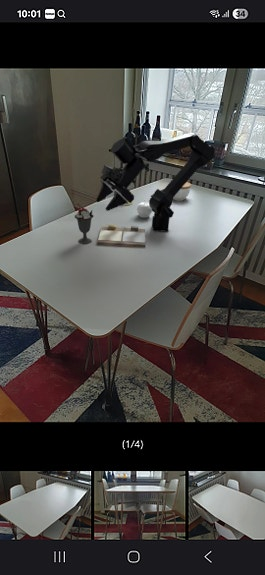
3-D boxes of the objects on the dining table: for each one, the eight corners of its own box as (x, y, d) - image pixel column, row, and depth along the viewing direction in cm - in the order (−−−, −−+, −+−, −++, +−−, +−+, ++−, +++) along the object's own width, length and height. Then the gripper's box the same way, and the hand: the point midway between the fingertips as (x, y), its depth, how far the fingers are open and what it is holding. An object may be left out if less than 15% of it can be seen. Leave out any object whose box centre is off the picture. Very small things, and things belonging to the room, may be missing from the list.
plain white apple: (133, 215, 143) (134, 198, 139) (145, 212, 147) (146, 195, 143) (143, 220, 139) (144, 203, 134) (155, 217, 143) (156, 200, 138)
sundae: (72, 242, 119) (70, 203, 110) (83, 235, 124) (81, 198, 115) (87, 246, 117) (85, 207, 108) (97, 240, 121) (96, 202, 113)
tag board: (145, 231, 130) (145, 226, 129) (145, 247, 119) (145, 241, 117) (101, 228, 130) (101, 223, 129) (97, 244, 119) (97, 239, 117)
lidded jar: (164, 196, 167) (166, 178, 162) (180, 194, 171) (183, 176, 166) (175, 203, 159) (178, 184, 154) (192, 200, 164) (195, 182, 158)
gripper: (105, 150, 115) (77, 183, 117) (127, 163, 101) (95, 200, 103) (124, 171, 122) (97, 202, 124) (147, 185, 109) (117, 220, 111)
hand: (101, 205), depth 115 cm, fingers open, 9 cm apart
